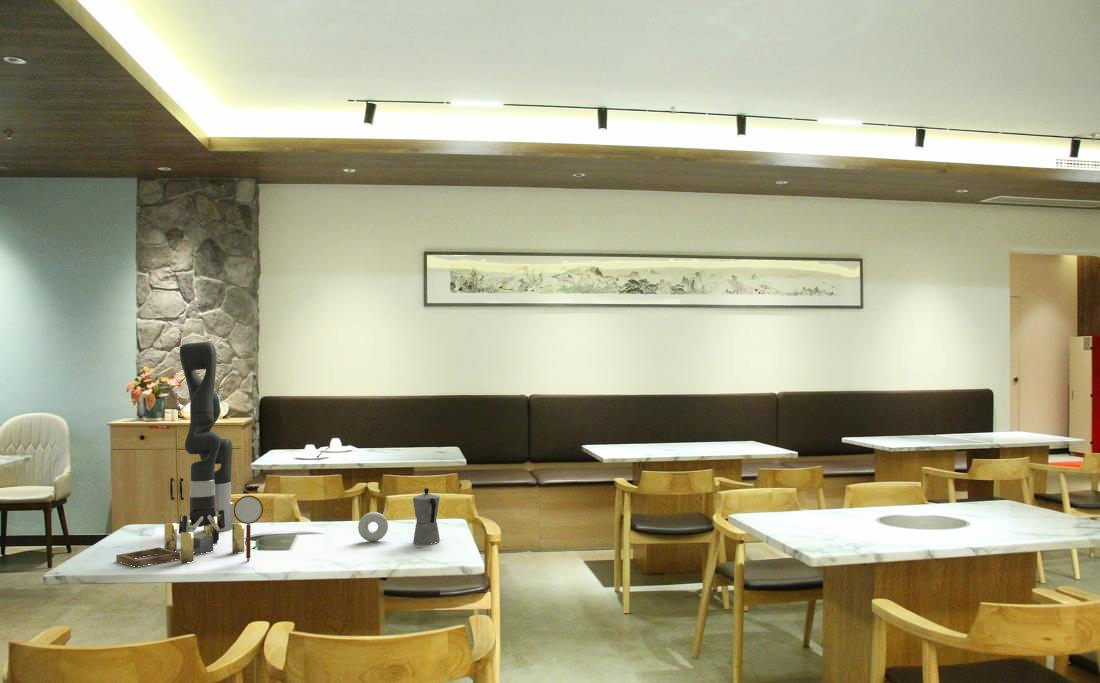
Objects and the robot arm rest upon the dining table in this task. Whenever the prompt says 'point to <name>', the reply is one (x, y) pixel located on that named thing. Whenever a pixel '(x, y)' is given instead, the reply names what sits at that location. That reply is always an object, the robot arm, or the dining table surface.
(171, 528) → the standing stones
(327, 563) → the dining table surface
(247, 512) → the magnifying glass
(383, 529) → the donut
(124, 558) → the tray
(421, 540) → the coffeepot
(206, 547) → the grey block
